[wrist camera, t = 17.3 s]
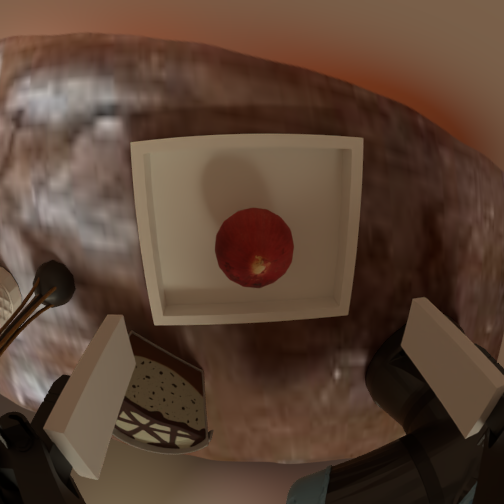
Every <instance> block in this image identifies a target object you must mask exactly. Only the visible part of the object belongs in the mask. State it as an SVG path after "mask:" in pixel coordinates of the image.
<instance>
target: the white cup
mask: <svg viewBox="0 0 504 504" xmlns="http://www.w3.org/2000/svg"><path fill="white" fill-rule="evenodd" d="M20 305H21V293H20V290H19V287H18V285H17V283H16V281H15V280H14V278H13V277H12V275H11V274H10V273H9V272H8V271H7V270H5V269H4V268H3V267H0V328H1V327H2V326H3V325H4V324H5V323H6V322H7V320H8V319H9V318H10V317H11V316H12V314H13V313H14V312H15V311H16V310H17V308H18V307H19V306H20ZM7 327H8V326H7ZM3 332H4V331H3ZM3 332H2V333H3Z"/></svg>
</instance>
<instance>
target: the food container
mask: <svg viewBox="0 0 504 504" xmlns="http://www.w3.org/2000/svg"><path fill="white" fill-rule="evenodd" d="M128 337H129V340H130V344H131V348H132V351H133V355H134V358H135V362H136V365H135V368H134V371H133V373H132V376H131V379H130V382H129V385H128V388H127V390H126V393H125V396H124V399H123V402H122V405H121V408H120V411H119V414H118V417H117V420H116V423H115V426H114V429H113V432H112V434H113V435H114V436H115V437H117V438H118V439H120V440H122V441H123V442H125V443H127V444H129V445H132V446H134V447H136V448H139V449H143V450H146V451H150V452H154V453H161V454H185V453H190V452H194V451H197V450H200V449H202V448H204V447H206V446H208V444H209V441H211V438H212V435H213V431H214V430H211V431H209V432H208V425H207V412H206V397H205V381H204V371H203V370H201V369H199V368H197V367H195V366H193V365H191V364H190V363H188V362H186V361H184V360H182V359H180V358H179V357H177V356H175V355H173V354H171V353H170V352H168V351H166V350H164V349H163V348H161V347H159V346H157V345H156V344H154V343H152V342H151V341H149V340H147V339H146V338H144V337H142V336H141V335H139V334H137V333H136V332H134V331H132V330H131V331H130V333H129V334H128Z"/></svg>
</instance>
